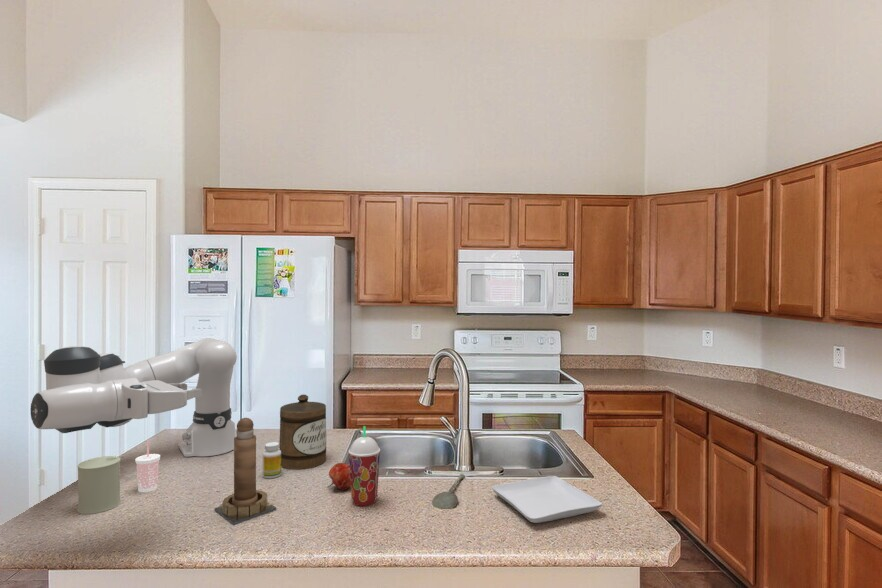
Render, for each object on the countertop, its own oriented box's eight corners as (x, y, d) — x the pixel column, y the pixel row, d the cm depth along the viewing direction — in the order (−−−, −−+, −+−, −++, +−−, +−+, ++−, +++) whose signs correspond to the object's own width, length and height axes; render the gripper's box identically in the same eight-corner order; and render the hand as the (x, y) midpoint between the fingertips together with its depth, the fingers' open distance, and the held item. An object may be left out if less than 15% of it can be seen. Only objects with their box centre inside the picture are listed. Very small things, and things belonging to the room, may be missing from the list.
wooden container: (302, 473, 148) (302, 401, 148) (269, 464, 155) (269, 396, 155) (335, 458, 161) (335, 393, 161) (303, 451, 168) (303, 388, 168)
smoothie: (385, 496, 131) (385, 423, 131) (372, 510, 123) (372, 432, 123) (356, 493, 133) (356, 421, 133) (342, 506, 125) (342, 429, 125)
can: (127, 503, 127) (127, 458, 127) (87, 517, 119) (87, 469, 119) (110, 495, 131) (110, 452, 131) (70, 508, 123) (70, 462, 123)
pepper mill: (228, 508, 122) (228, 418, 122) (251, 500, 127) (251, 413, 127) (238, 515, 118) (238, 422, 118) (261, 507, 123) (261, 417, 123)
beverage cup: (136, 495, 131) (136, 444, 131) (133, 488, 136) (133, 439, 136) (162, 489, 135) (162, 440, 135) (158, 483, 140) (158, 435, 140)
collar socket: (214, 510, 122) (214, 498, 122) (256, 497, 130) (256, 486, 130) (233, 525, 115) (233, 512, 115) (276, 509, 123) (276, 498, 123)
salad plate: (489, 496, 132) (489, 484, 132) (555, 485, 139) (555, 473, 139) (531, 532, 112) (531, 518, 112) (604, 517, 120) (604, 503, 120)
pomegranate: (329, 501, 133) (357, 481, 132) (314, 478, 134) (342, 458, 133) (339, 493, 140) (366, 474, 139) (326, 472, 141) (352, 452, 141)
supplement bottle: (260, 474, 146) (260, 443, 146) (277, 470, 150) (277, 440, 150) (266, 480, 142) (266, 448, 142) (284, 476, 146) (284, 444, 146)
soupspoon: (428, 511, 124) (453, 516, 122) (429, 499, 124) (453, 503, 122) (452, 477, 145) (473, 480, 143) (452, 466, 145) (473, 469, 143)
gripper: (115, 405, 114) (178, 395, 124) (141, 420, 100) (209, 409, 110) (115, 378, 114) (178, 371, 124) (141, 390, 100) (209, 381, 110)
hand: (193, 389), depth 117 cm, fingers open, 8 cm apart
